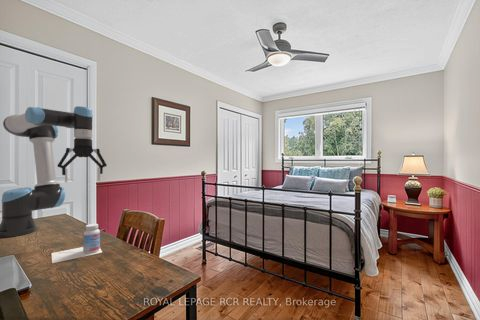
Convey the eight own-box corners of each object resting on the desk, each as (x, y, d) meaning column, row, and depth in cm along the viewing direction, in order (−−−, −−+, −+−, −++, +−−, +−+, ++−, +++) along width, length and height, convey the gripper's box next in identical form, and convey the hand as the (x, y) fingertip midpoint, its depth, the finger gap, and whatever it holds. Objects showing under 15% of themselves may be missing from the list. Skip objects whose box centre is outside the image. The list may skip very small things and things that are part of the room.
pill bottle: (92, 254, 99) (92, 227, 99) (79, 252, 100) (79, 226, 100) (103, 248, 105) (103, 223, 105) (91, 247, 106) (91, 222, 106)
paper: (51, 253, 100) (51, 252, 100) (97, 244, 111) (97, 243, 111) (52, 263, 90) (52, 263, 90) (102, 252, 101) (102, 252, 101)
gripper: (51, 136, 106) (51, 183, 106) (112, 139, 122) (112, 180, 122) (50, 137, 112) (50, 182, 112) (109, 140, 128) (109, 179, 128)
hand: (83, 181), depth 117 cm, fingers open, 13 cm apart
